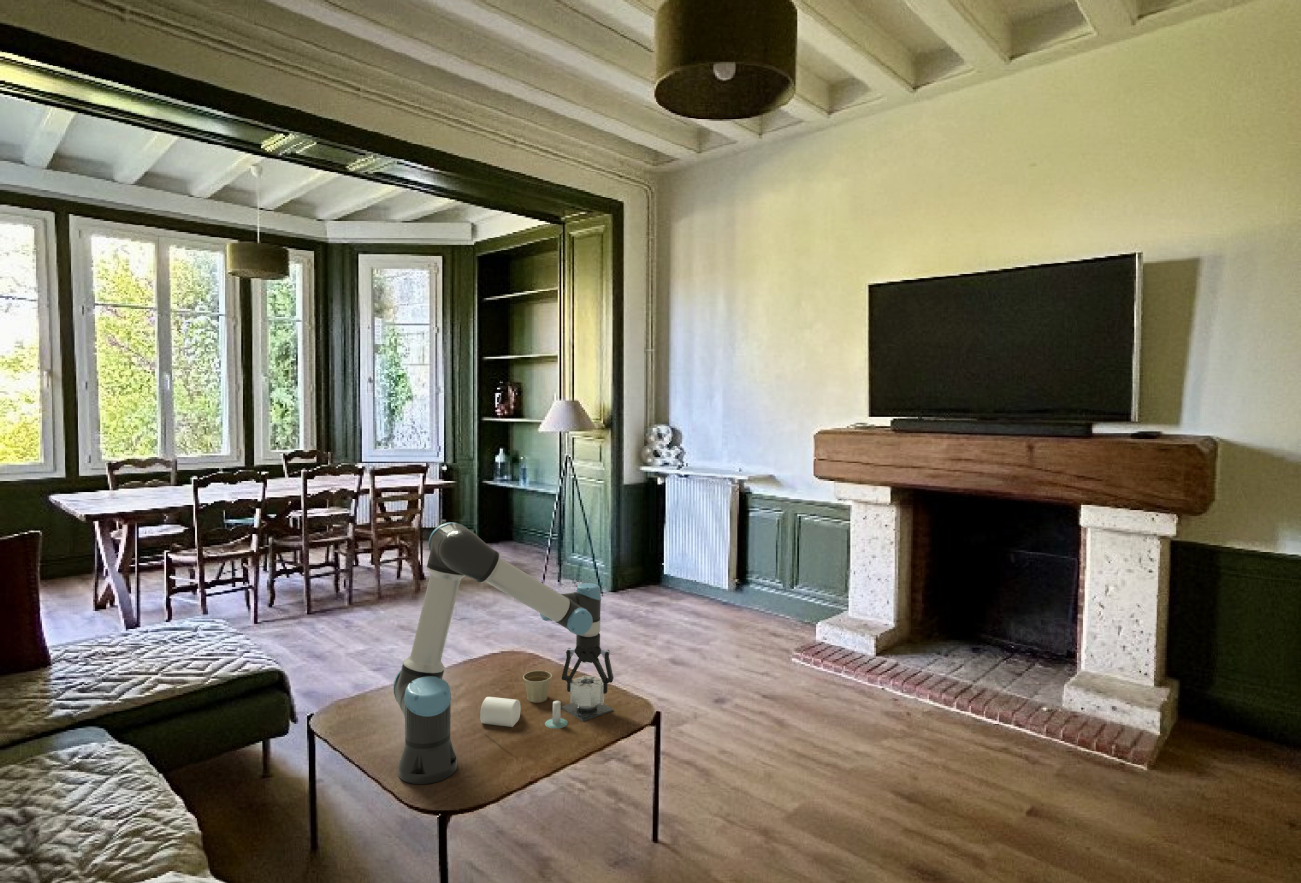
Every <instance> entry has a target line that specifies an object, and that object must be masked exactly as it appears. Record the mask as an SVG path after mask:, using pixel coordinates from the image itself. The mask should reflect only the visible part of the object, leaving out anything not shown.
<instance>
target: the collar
mask: <svg viewBox="0 0 1301 883" xmlns="http://www.w3.org/2000/svg"><path fill="white" fill-rule="evenodd" d="M573 680H574V681H573V683H572V702H573V703H575V704H577V705H579V706H593V705H596V704H599V703H601V683H602V679H601V678H599V677H598V676H593V675H582V676H579V677H575V678H573ZM586 682H590V683H592V684H584V683H586Z"/></svg>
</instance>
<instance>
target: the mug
mask: <svg viewBox="0 0 1301 883" xmlns="http://www.w3.org/2000/svg"><path fill="white" fill-rule="evenodd" d="M521 707H522V706H521V702H520V700H518V699H512V698H504V697H503V698H502V697H494V696H486V697H485V698H484V699H483V701H482V704H481V707H480V713H479V717H480V722H481V724H483V725H494V726H501V727H511V728H513V727H514V726H515V725H516V724H517V723H518V721H520V716H521Z"/></svg>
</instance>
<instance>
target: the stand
mask: <svg viewBox="0 0 1301 883" xmlns="http://www.w3.org/2000/svg"><path fill="white" fill-rule="evenodd" d="M561 704H562V702H561V701H560V700H554V701H552V718H549V719H547V720H546V721H545V722H544V725H545V727H547V728H550V729H555V730H556V729H562V728H564V727H567V726H568V725H569V722H568V720H567V719H565V718H563V717H562V716H561V715H562V714H561V710H562V709H561Z"/></svg>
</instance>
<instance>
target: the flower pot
mask: <svg viewBox="0 0 1301 883" xmlns="http://www.w3.org/2000/svg"><path fill="white" fill-rule="evenodd" d="M552 678H553V675H552V673H551V672H549V671H546V670H532V671H528V672H526V673H524V674H523V676H522V679H523V682H524V683H525V692H526V696H527V701H529V702H530V703H543V702H546V701H547V700H548V694H549V688H550V682H551V679H552Z"/></svg>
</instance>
